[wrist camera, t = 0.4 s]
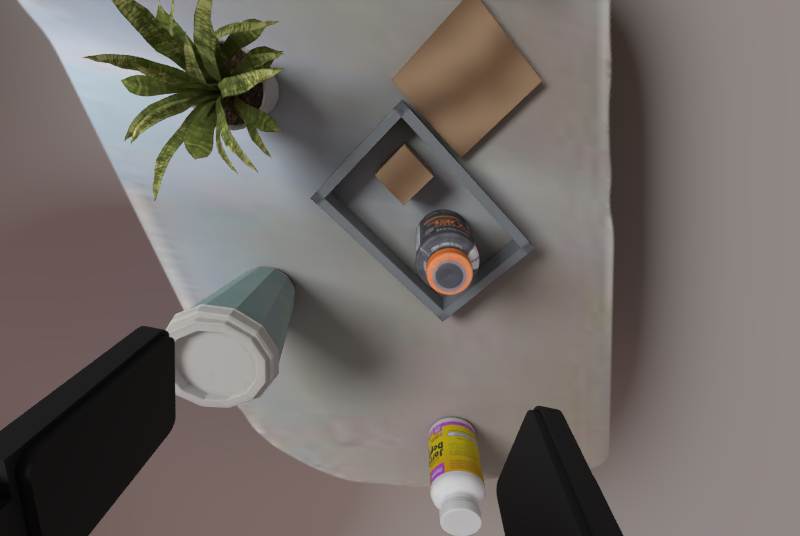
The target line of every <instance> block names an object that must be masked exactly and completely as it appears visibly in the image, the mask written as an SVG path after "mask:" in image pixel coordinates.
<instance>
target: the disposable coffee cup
mask: <svg viewBox="0 0 800 536" xmlns="http://www.w3.org/2000/svg"><path fill="white" fill-rule="evenodd" d="M294 304H295V289H294V286H293V284H292V282H291V281H290V279H289V277H288V276H287V275H285V274H284V273H282V272H281V271H279V270H278V269H276V268H269V267H258V268H255V269H253V270H250V271H248V272H246V273H244V274H243V275H241V276H240V277H238V278H236V279H235V280H233V281H232V282H230V283H229V284H227V285H226V286H224V287H223V288H221V289H219V290H218V291H216V292H215V293H213V294H212V295H210V296H209V297H207V298H205V299H204V300H202V301H201V302H199V303H198V304H196V305H195V306H193V307H192V308H190V309H188V310H185V311H183V312H180V313H177V314H175V316H174V318H173V319H172V321H171V322H170V324H169V325H168V327H167V329H166V331H168V333H169V336H170V337H172V338H173V339H174V341H175V394H176V395H178V396H180V397H182V398H184V399H187V400H189V401H191V402H194V403H196V404H198V405H200V406H208V407H227V408H230V407H233V406H236V405H239V404H241V403H244V402H247V401H249V400H252V399H255V398H258V397H260V396H261V395H262V394H263V392H264V391H265V390H266V389H267V387H268V386H269V385H270V384H271V383H272V381H273V380H274V379H275V378H276V376H277V375H278V374H279V361H280V357H281V353H282V349H283V345H284V342H285V338H286V334H287V330H288V327H289V323H290V319H291V315H292V311H293V308H294Z"/></svg>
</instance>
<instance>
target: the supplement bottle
mask: <svg viewBox="0 0 800 536" xmlns="http://www.w3.org/2000/svg"><path fill="white" fill-rule="evenodd" d="M429 463H430V490H431V498H432V501H433V502H434V504H435V506H436V507H437V508H438V509H439V510H440V524H441V527H442V528H443V530H445V531H446V532H447V533H449V534H451V535H455V536H467V535H471V534H473V533H475V532H476V531H477V530H479V529H480V527H481V524H482V520H481V511H480V509H479V508H480V507H481V506H482V504H483V502H484V500H485V495H486V491H485V485H484V480H483V474H482V468H481V463H480V457H479V451H478V445H477V439H476V434H475V431H474V429H473V427H472V426H471V424H469V423H468V422H467V421H465V420H463V419H460V418H455V417H449V418H444V419H441V420H439V421H437V422H436V423H435V424H434V425H433V426H432V427H431V429H430V431H429Z"/></svg>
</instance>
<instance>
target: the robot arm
mask: <svg viewBox="0 0 800 536" xmlns="http://www.w3.org/2000/svg"><path fill="white" fill-rule="evenodd" d="M174 422H175V341H174V339H173V338H172V337H170V336H169V333H168V331H166V330H162V329H157V328H152V327H147V326H141V327H139V328H137V329H136V330H135V331H133V332H132V333H131V334H129V335H128V336H127V337H125V338H124V339H123V340H121V341H120V342H119V343H117V344H116V345H115V346H113V347H112V348H111V349H109V350H108V351H107V352H105V353H104V354H103V355H101V356H100V357H98V358H97V359H96V360H94V361H93V362H92V363H91V364H89V365H88V366H87V367H85V368H84V369H82V370H81V371H80V372H78V373H77V374H76V375H74V376H73V377H72V378H70V379H69V380H68V381H66V382H65V383H64V384H62V385H61V386H60V387H58V388H57V389H56V390H54V391H53V392H52V393H51V394H49V395H48V396H46V397H45V398H44V399H42V400H41V401H40V402H38V403H37V404H36V405H34V406H33V407H32V408H30V409H29V410H28V411H26V412H25V413H24V414H22V415H21V416H20V417H18V418H17V419H16V420H14V421H13V422H11V423H10V424H9V425H8V426H6V427H5V428H3V429H2V430H1V431H0V536H88V535H89V534H90V533H91V532H92V530H93V529H94V528H95V527H96V525H97V524H98V523H99V521H100V520H101V519H102V518H103V516H104V515H105V513H106V512H107V511H108V510H109V509H110V508H111V506H112V505H113V504H114V503H115V501H116V500H117V499H118V497H119V496H120V495H121V494H122V492H123V491H124V490H125V489H126V487H127V486H128V485H129V484H130V482H131V481H132V480H133V479H134V477H135V476H136V475H137V473H138V472H139V471H140V470H141V468H142V467H143V466H144V465H145V463H146V462H147V461H148V459H149V458H150V457H151V456H152V454H153V453H154V452H155V451H156V449H157V448H158V446H160V444H161V443H162V442H163V440H164V439H165V438H166V437H167V435H168V434H169V433H170V431H171V430H172V428H173V425H174ZM497 499H498V504H499V508H500V513H501V518H502V523H503V528H504V532H505V536H623V534H622V532H621V530H620V528H619V526H618V524H617V522H616V520H615V518H614V516H613V514H612V512H611V510H610V508H609V506H608V504H607V502H606V500H605V498H604V496H603V494H602V492H601V489H600V487H599V485H598V484H597V481H596V480H595V478H594V476H593V475H592V473H591V471H590V469H589V466H588V464H587V462H586V460H585V458H584V456H583V454H582V452H581V450H580V448H579V446H578V444H577V442H576V440H575V438H574V436H573V434H572V432H571V430H570V428H569V426H568V424H567V422H566V420H565V418H564V416H563V414H562V412H561V411H560V410H557V409H553V408H548V407H543V406H536V407H535V408H534V410H529V411H528V412H527V413H526V416H525V418H524V420H523V423H522V425H521V427H520V430H519V432H518V434H517V437H516V439H515V441H514V444H513V446H512V449H511V451H510V453H509V456H508V458H507V460H506V463H505V465H504V467H503V470H502V472H501V474H500V477H499V479H498V482H497Z"/></svg>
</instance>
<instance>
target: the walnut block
mask: <svg viewBox="0 0 800 536" xmlns="http://www.w3.org/2000/svg"><path fill="white" fill-rule="evenodd" d="M375 176H376V177H377V178H378V179H379V180H380V181H381V182H382V183H383V184H384V185H385V186H386V187H387V188H388V189H389V191H390V192H391V193H392V194H393V195H394V196H395V197H396V198H397V199H398V200H399V201H400V202H401V203H402V204H403V205H405V204H406V203H407V202H408V201H409V200H410V199H411V198H412V197H413V196H414V195H415V194H416V193H417V192H418V191H419V190H420V189H421V188H422V187H423V186H424V185H425V184H426V183H428V182H429V181H430V180H431V179H432V178H433V177H434V176H433V172H432V170H431V169H430V168H429V166H428V165H427V164H426V163H425V162H424V161H423V160H422V159H421V158H420V157H419V156H418V155H417V154H416V152H415V151H414V150H413V149H412V148H411V147H410V146H409V145H408V144H407V143H406V142H405V143H404V144H403V145H402V146H401V147H400V148H399V149H398V150H397V151H396V152H395V153H394V154H393V155H392V156H391V157H390V158H389V159H388V160H387V161H386V162H385V163H384V164H383V165H382V166H381V168H380V169H379V170H378V171H377V173H376V175H375Z"/></svg>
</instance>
